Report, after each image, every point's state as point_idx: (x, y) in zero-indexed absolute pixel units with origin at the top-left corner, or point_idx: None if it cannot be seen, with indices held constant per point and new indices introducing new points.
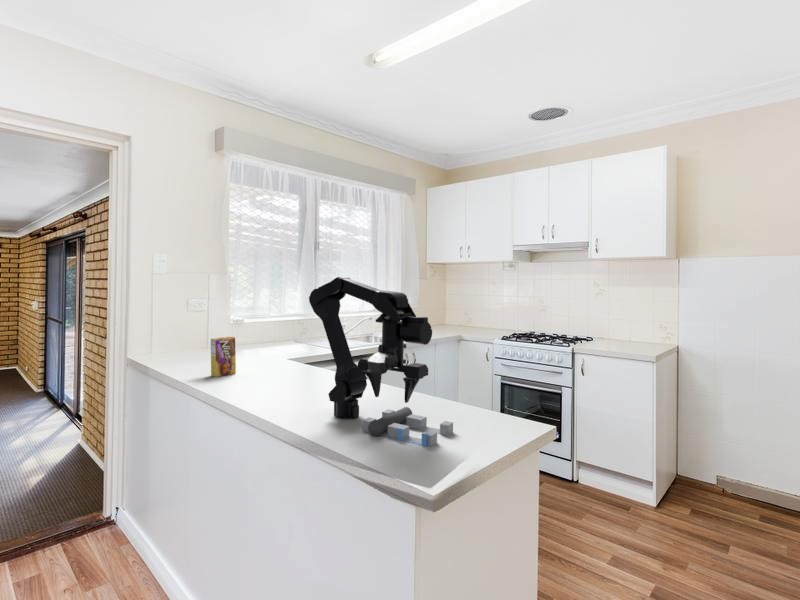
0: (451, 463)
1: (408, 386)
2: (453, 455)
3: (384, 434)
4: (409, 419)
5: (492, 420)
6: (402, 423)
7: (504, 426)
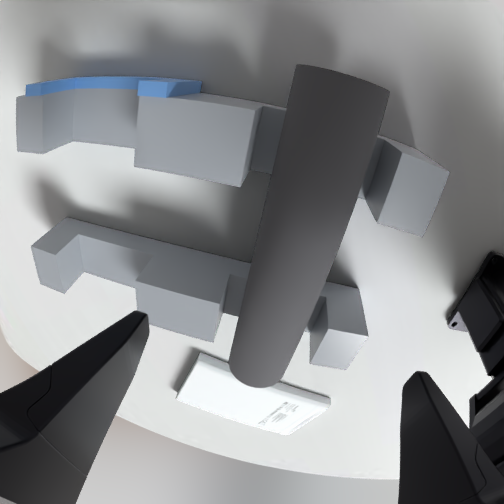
0: (8, 56)
1: (15, 398)
2: None
3: None
4: (203, 293)
5: None
6: None
7: (49, 351)
